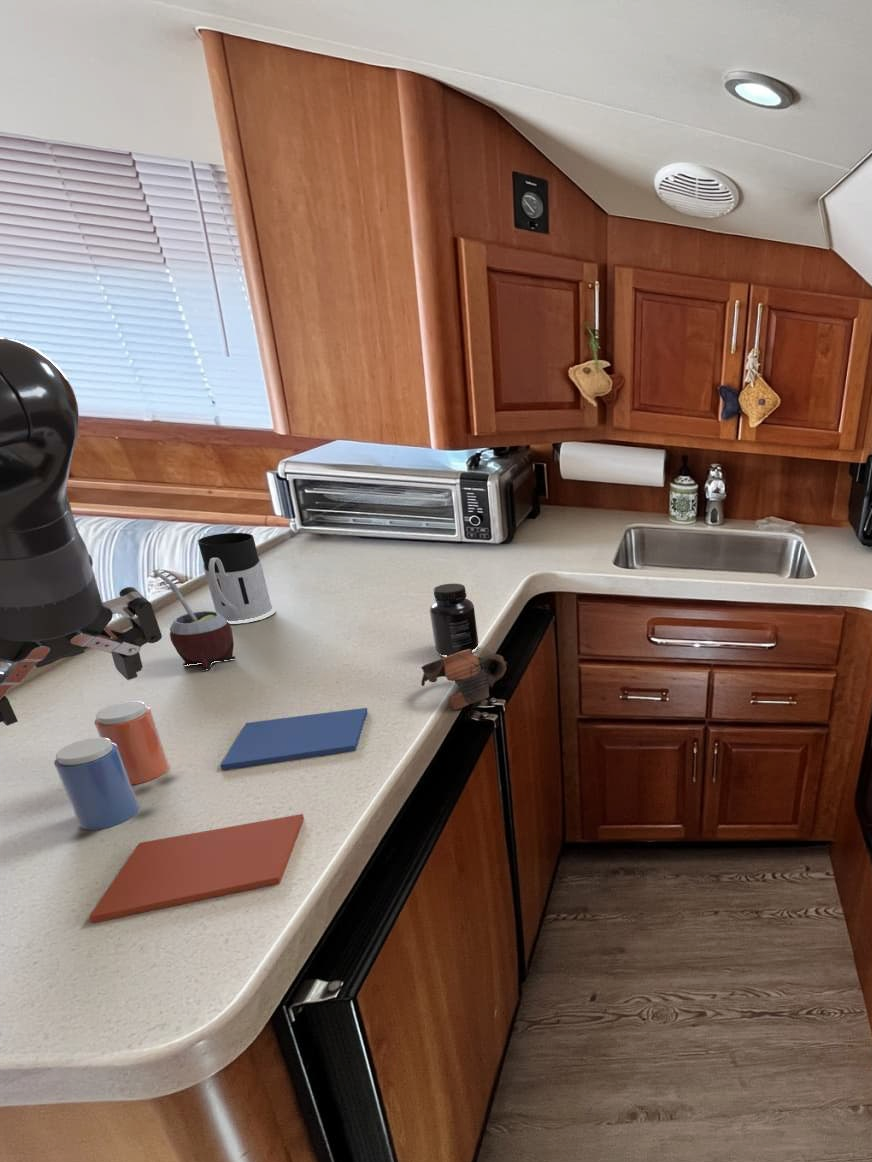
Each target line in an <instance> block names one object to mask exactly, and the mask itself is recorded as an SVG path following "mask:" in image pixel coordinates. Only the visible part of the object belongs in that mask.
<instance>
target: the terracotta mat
mask: <svg viewBox="0 0 872 1162" xmlns="http://www.w3.org/2000/svg"><path fill="white" fill-rule="evenodd" d="M304 820H305V817H304V814H303V813H300V814H294V815H289V816H283V817H282V816H281V817H277V818H272V819H271V818H270V819H267V820H260V821H254V822H250V823H244V824H238V825H237V824H236V825H233V826H226V827H220V828H215V829H210V830H204V831H199V832H194V833H187V834H182V835H177V836H171V837H165V838H159V839H154V840H147V841H142V842H139V843H138V844H137V846H136V847H135V848H134V850H133V851H132V853H131V855H130V856H129V857H128V859H127V860H126V862H125V863H124V865H123V866H122V868H121V869H120V871H119V872H118V874H117V875H116V877H115V878H114V880H113V881H112V883H111V884H110V886H108V889H107V890H106V891H105V893H104V894H103V896H102V898H101V899H100V900H99V902H98V903H97V904H96V906H95V908H94V909H93V911H92V912H91V914H90V915H89V920H90V922H91V923H92V924H94V923H99V922H103V921H108V920H113V919H118V918H122V917H126V916H127V917H128V916H132V915H137V914H141V913H146V912H151V911H154V910H160V909H164V908H170V907H174V906H179V905H184V904H188V903H193V902H198V901H203V900H207V899H213V898H218V897H222V896H227V895H231V894H236V893H241V892H245V891H249V890H254V889H258V888H264V887H268V886H273V885H278V884H281V881H282V878H283V876H284V874H285V870H286V868H287V865H288V863H289V860H290V857H291V854H292V852H293V849H294V847H295V844H296V842H297V839H298V836H299V835H300V831H301V828H302V825H303V823H304Z"/></svg>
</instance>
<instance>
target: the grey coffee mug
mask: <svg viewBox="0 0 872 1162" xmlns="http://www.w3.org/2000/svg"><path fill="white" fill-rule="evenodd" d="M197 544H198V547H199V551H200V555H201V558H202V562H203V566H202V567H203V570H204V574H205V578H206V581H207V585H208V589H209V592H210V596H211V599H212V603H213V606H214V607H213V608H214V610H215V612H217V613H219V614H220V615H222V616H223V617H224V618H225V619H226V620H228V621H238V620H245V619H250V618H255V617H258V616H261V615H263V614H266V613H267V612H269V611H271V609H272V607H273V605H272V603H271V599H270V594H269V590H268V586H267V582H266V578H265V574H264V569H263V565H262V562H261V559H260V558H259V553H258V550H257V546H256V543H255V538H254V535H253V534H251V533H248V532H247V533H246V532H225V533H215V534H210V535H207V536H204V537H201V538H199V539H198V540H197Z"/></svg>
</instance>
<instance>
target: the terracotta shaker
mask: <svg viewBox="0 0 872 1162" xmlns="http://www.w3.org/2000/svg"><path fill="white" fill-rule="evenodd" d="M95 717H96V719H95V720H94V721H93V723H94V726H95V729H96V732H97V734H98V738H107V739H110V740H111V742H112V743H114V744H116V745H117V747H118V750H119V752H120V755H121V758H122V760H123V763H124V766H125V769H126V771H127V774H128V777H129V779H130V782H131V785H132V786H134V785H139V784H143V783H147V782H150V781H152V780H154V779H157V778H159V777H161V776H162V775H164V774H166V772H167V771H168V770H169V768H170V763H169V760H168V757H167V755H166V751H165V749H164V745H163V743H162V739H161V737H160V734H159V731H158V728H157V725H156V721H155V719H154V716H153V714H152V709H151V708H150V707H149V706H146V703H144V701H140V700H139V701H138V700H128V701H123V702H117V703H113V704H111V705H108V706H106V707H104V708H102V709H100V710H98V711H97V713H96V714H95Z"/></svg>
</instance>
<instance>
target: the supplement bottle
mask: <svg viewBox="0 0 872 1162" xmlns="http://www.w3.org/2000/svg"><path fill="white" fill-rule="evenodd" d="M433 600H434V601H435V602H433V603H431V605H430V607H429V616H430V622H431V629H432V635H433V642H434V648H435V652H436V651H437V652H438V653H439V654H441V655H447V656H450V655H452V654H455V653H458V652H461V651H464V650H467V649H471V650H473V649H475V648H476V647H477V646H478V643H479V636H478V627H477V619H476V618H477V617H476V612H475V610H476V609H475V604H474V603H473V602H472V601H471V600H470V599H468V598H467V592H466V587H465V585H464V584H461V583H444V584H440V585H438V586H437V585H436V586H435V587H434V588H433ZM437 652H436V653H437Z"/></svg>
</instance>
